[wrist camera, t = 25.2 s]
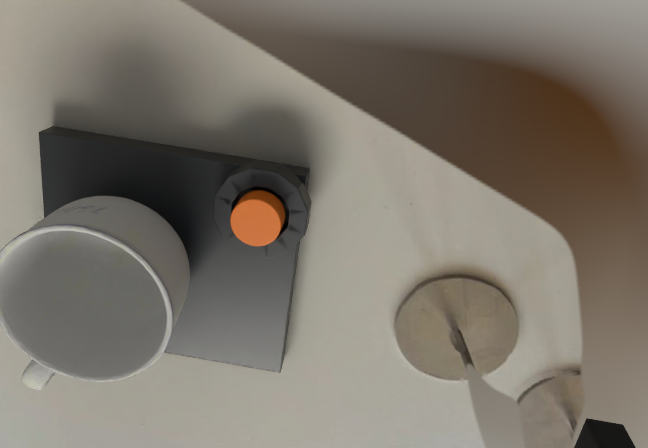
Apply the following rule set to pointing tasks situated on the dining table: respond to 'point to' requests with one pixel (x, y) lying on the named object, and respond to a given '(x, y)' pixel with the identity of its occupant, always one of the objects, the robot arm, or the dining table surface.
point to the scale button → (258, 218)
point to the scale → (197, 233)
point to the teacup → (93, 290)
